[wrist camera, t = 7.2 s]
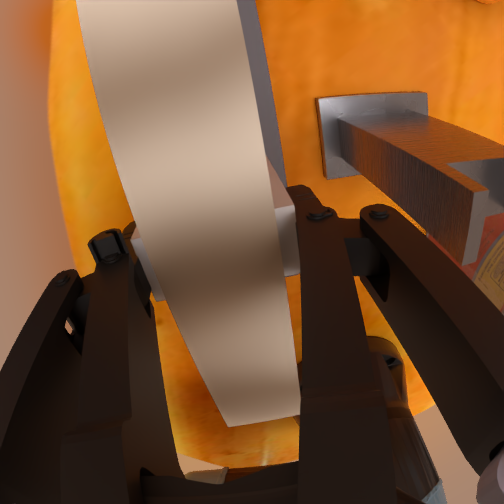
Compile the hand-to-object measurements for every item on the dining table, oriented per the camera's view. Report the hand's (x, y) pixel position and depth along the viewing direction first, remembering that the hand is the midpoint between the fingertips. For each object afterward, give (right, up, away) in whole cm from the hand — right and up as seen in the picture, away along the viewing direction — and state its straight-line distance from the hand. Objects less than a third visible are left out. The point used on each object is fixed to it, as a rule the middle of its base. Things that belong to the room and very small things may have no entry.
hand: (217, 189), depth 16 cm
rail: (0, -1, -2) cm, 2 cm away
